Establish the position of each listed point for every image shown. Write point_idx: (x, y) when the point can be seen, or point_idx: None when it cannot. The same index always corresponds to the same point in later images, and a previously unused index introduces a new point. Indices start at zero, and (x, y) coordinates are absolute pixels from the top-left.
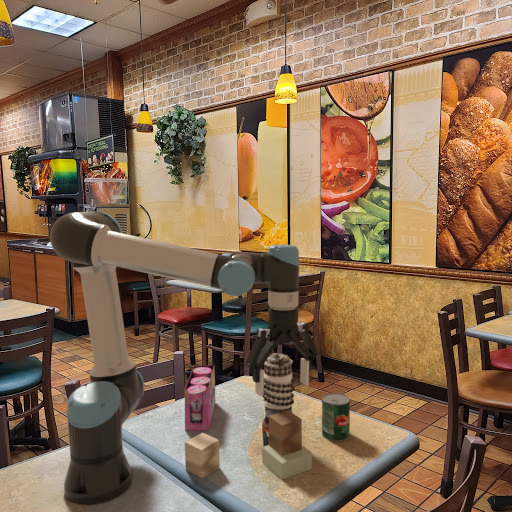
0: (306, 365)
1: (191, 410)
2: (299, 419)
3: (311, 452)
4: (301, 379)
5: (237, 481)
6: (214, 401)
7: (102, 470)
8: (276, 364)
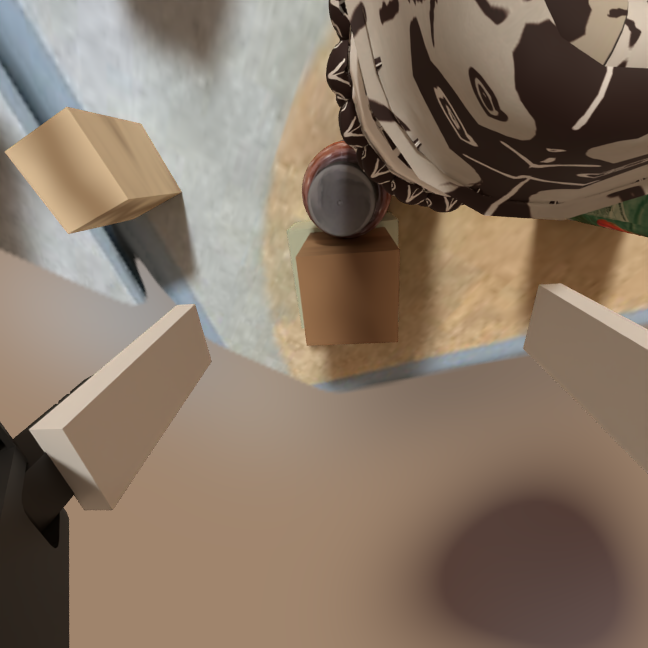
0: (640, 464)
1: None
2: (389, 340)
3: (398, 320)
4: (550, 309)
5: (215, 260)
6: None
7: None
8: (457, 154)
